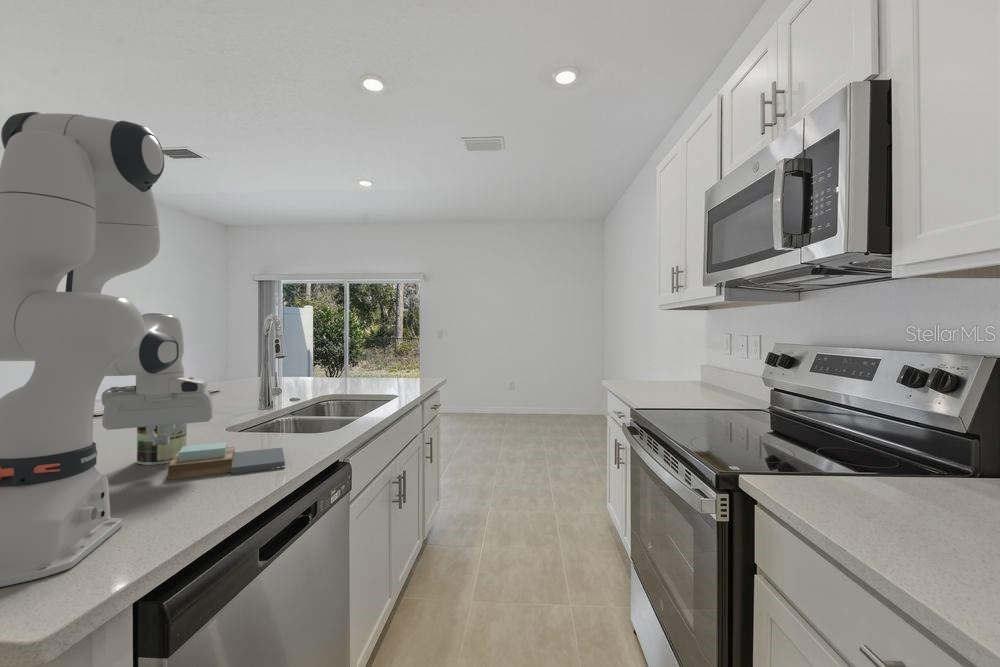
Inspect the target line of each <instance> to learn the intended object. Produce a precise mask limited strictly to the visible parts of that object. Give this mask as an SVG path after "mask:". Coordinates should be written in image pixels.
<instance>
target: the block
mask: <svg viewBox="0 0 1000 667" xmlns="http://www.w3.org/2000/svg"><path fill="white" fill-rule="evenodd" d="M227 447H228V441H226V442H225V441H224V442H215V443H205V444H204V443H203V444H196V445H195V444H194V445H193V444H192V445H186V446H183V447H182V448H181V450H180V452H179V461H187V460H196V459H206V458H215V457H224V456H225V455H226V452H227Z"/></svg>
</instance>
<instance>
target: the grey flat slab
mask: <svg viewBox="0 0 1000 667" xmlns="http://www.w3.org/2000/svg"><path fill="white" fill-rule="evenodd" d="M285 462H286V461H285V455H284V449H283V447H274V448H265V449H257V450H256V449H255V450H246V451H236V452H235V453H234V457H233V462H232V467H231V472H230V473H231V475H235V474H237V473H238V474H244V473H253V471H254V472H261V471H260V470H262V471H267V470H266V469H270V470H273V469H272V468H277V467H282V466H286V463H285Z"/></svg>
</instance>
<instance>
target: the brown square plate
mask: <svg viewBox="0 0 1000 667" xmlns="http://www.w3.org/2000/svg"><path fill="white" fill-rule="evenodd" d="M235 448H236V446H230V447H229V446H227V452H226V455H225V456H224V457H215V458H206V459H196V460H187V461H179V452H177V454H176V455H175V457H174V458H173V460H172V461H171V463H168V465H167V472H168V473H167V476H168V477H167V480H177V479H183V478H191V477H192V478H193V477H198V476H199V477H200V476H207V475H215V474H217V475H218V474H224V473H231V467H232V462H233V457H234V453H235V451H236V449H235Z"/></svg>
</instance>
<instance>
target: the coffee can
mask: <svg viewBox="0 0 1000 667" xmlns="http://www.w3.org/2000/svg"><path fill="white" fill-rule="evenodd" d="M187 424H188V423H186V424H175V428H174V430H173V431H172V433H171V435H170V442H169V444H165V445H155V446H153V438H151V437H150V435H149V434H148V433H147V432H146V427H137V428H136V461H135V462H136V464H137V463H138V465H140V464H141V466H158V465H157V464H159V465H166V464H170V463H171V461H172V460H173V458H174V457H175V455H176V454H177V452H180V450H181V448H182V447H183V446H187V442H188V441H187V436H188V435H187V432H188V430H187V427H188V426H187ZM169 430H170V429H169ZM169 430H167V429H166V425H161V426H156V429H155V430H154V432H155V433H156V434H157V436H165V435H166V434H167V433H168V431H169ZM165 463H166V464H165Z"/></svg>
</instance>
